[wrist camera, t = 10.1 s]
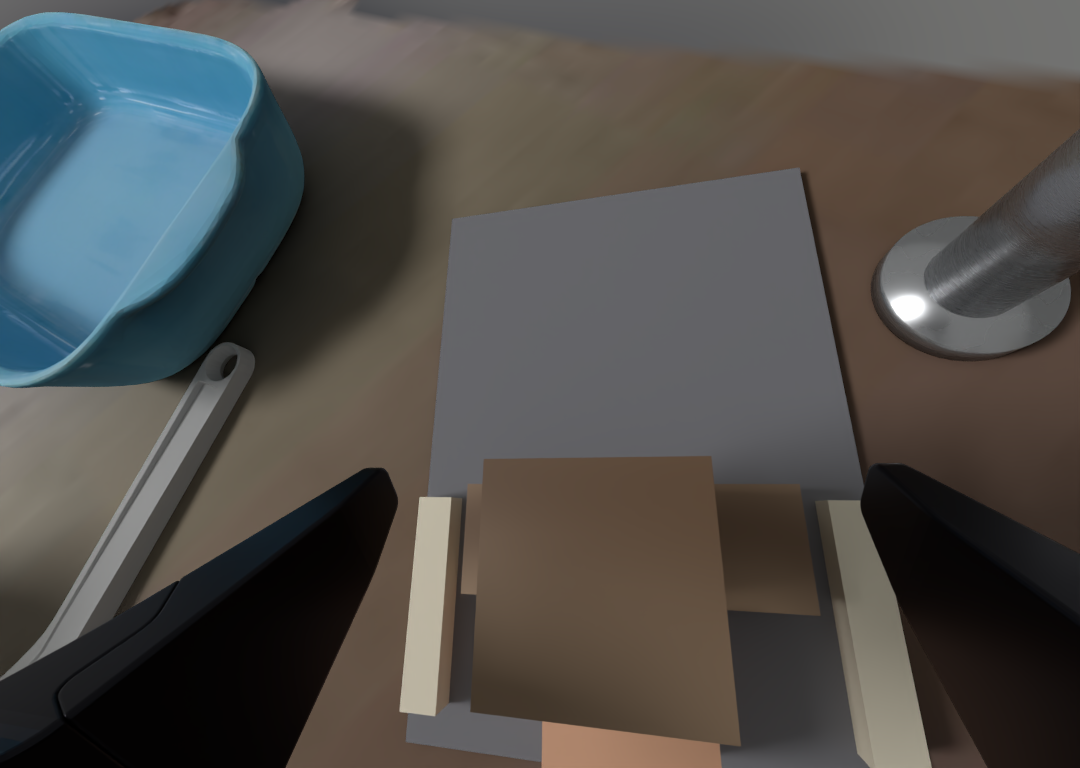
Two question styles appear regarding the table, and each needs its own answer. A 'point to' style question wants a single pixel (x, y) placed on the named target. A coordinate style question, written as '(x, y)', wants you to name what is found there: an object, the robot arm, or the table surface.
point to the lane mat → (664, 444)
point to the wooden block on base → (624, 589)
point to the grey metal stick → (988, 269)
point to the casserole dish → (131, 196)
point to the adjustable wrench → (148, 502)
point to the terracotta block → (621, 749)
